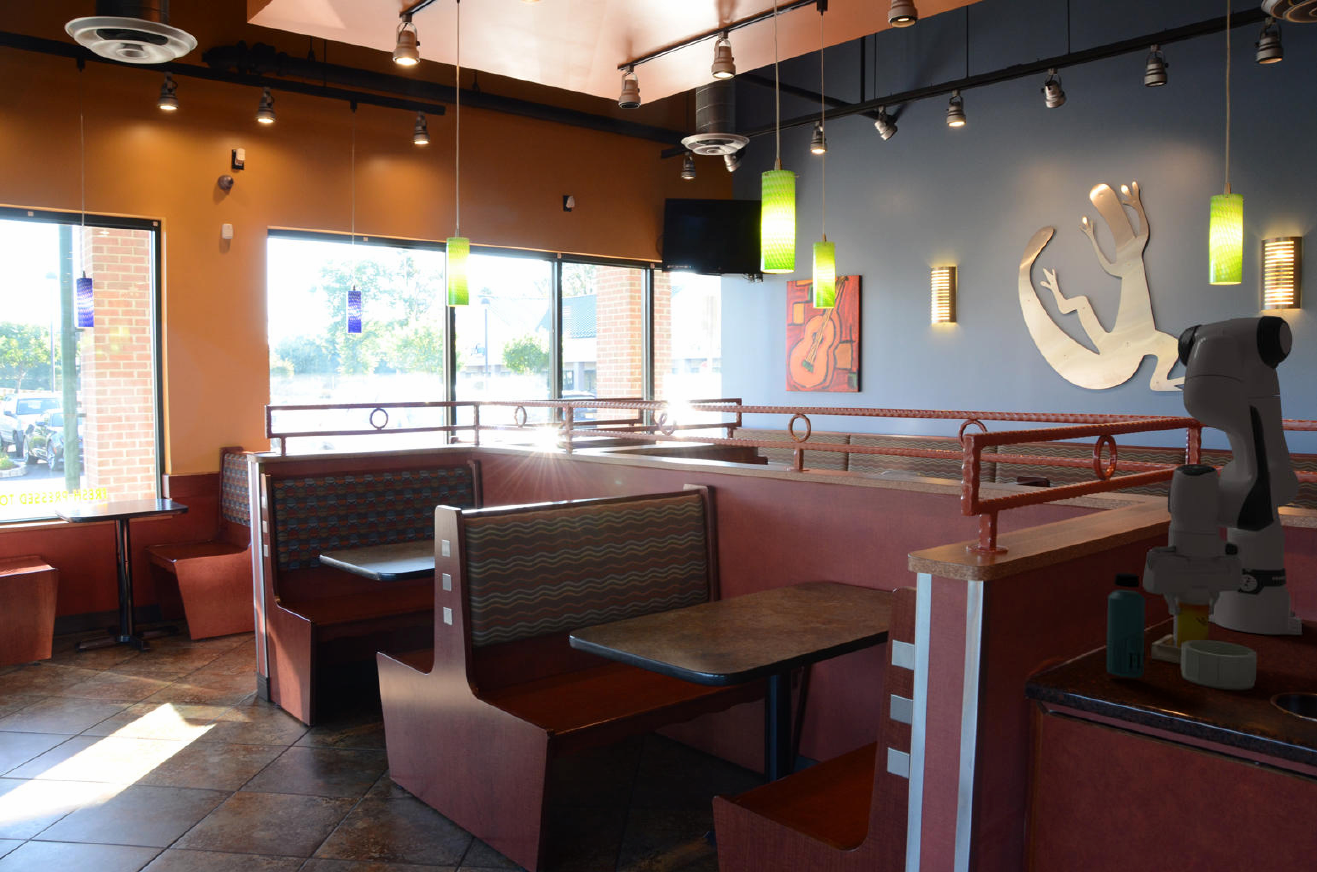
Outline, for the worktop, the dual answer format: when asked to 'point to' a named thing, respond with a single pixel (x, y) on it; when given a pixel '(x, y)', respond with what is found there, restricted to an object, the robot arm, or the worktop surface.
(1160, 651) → the square beige tray
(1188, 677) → the cup
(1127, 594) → the beverage bottle
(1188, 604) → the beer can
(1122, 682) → the worktop surface
